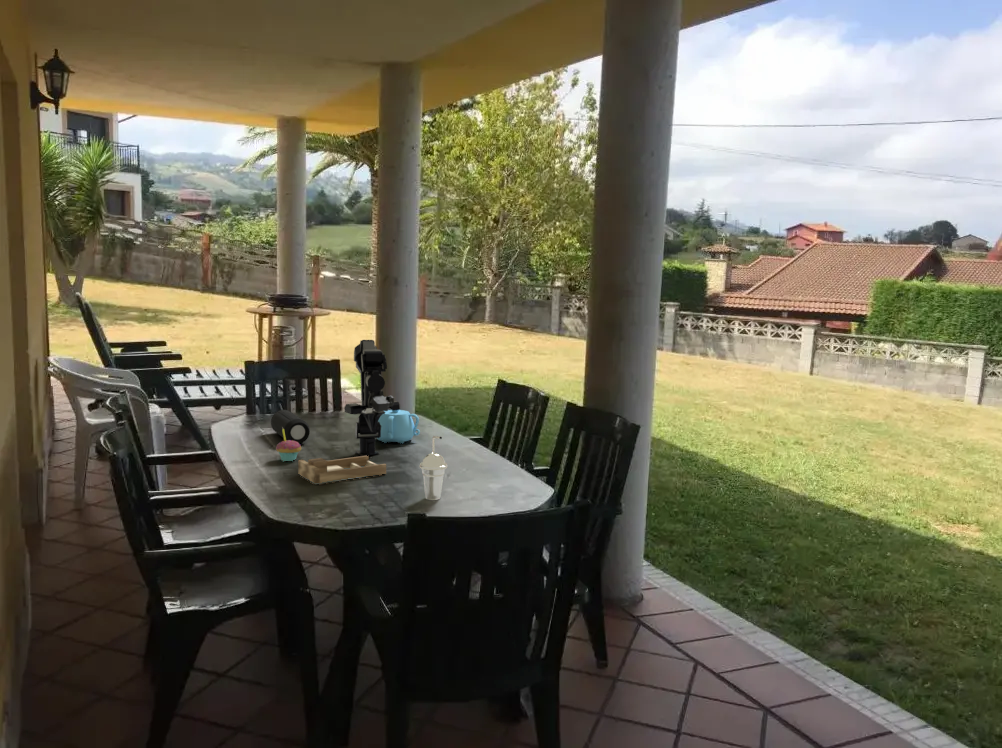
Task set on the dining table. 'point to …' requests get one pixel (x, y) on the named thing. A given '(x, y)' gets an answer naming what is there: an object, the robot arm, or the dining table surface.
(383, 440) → the decorative pot
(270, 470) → the dining table surface
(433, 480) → the cup with straw
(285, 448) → the cupcake
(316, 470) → the board
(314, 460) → the walnut block
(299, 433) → the portable speaker
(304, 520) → the dining table surface
